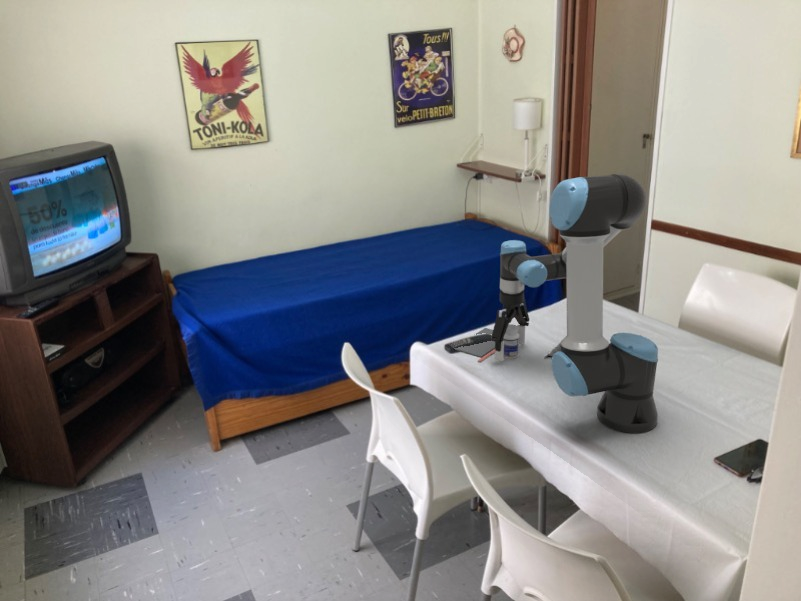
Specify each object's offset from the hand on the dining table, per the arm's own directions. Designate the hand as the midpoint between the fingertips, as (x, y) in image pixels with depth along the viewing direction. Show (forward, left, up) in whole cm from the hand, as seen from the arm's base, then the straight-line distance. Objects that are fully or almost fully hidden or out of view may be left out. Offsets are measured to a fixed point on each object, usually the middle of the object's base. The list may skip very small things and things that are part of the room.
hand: (510, 351), depth 208 cm
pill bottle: (0, 0, -2) cm, 2 cm away
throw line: (+3, +5, -1) cm, 6 cm away
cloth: (+16, -15, -2) cm, 22 cm away
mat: (+3, +12, -1) cm, 12 cm away
